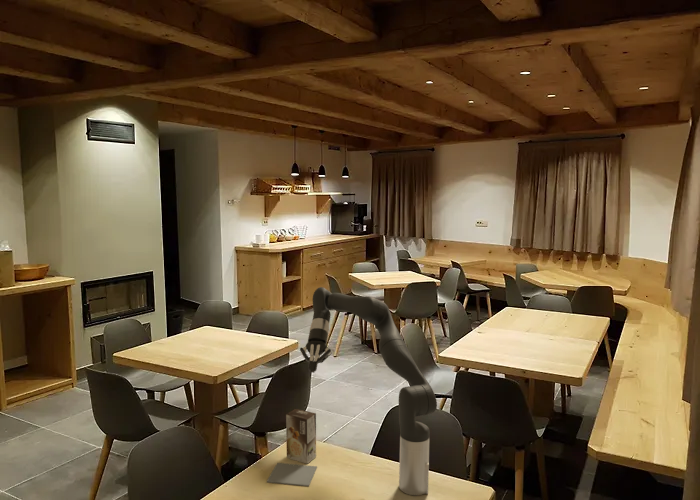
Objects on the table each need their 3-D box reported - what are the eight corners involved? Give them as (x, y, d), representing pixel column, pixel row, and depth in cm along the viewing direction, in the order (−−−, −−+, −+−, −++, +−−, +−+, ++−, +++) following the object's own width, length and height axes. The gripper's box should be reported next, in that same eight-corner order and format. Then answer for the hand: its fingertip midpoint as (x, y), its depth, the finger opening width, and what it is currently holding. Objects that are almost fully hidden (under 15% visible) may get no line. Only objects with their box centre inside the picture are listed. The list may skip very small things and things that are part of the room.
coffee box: (317, 456, 186) (317, 413, 184) (307, 464, 180) (307, 419, 179) (295, 450, 190) (295, 407, 189) (285, 458, 185) (285, 414, 183)
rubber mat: (317, 467, 178) (316, 466, 178) (308, 486, 167) (308, 485, 167) (277, 463, 180) (277, 462, 180) (266, 482, 169) (266, 481, 169)
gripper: (336, 337, 212) (330, 377, 201) (304, 336, 214) (296, 375, 203) (334, 328, 206) (327, 368, 195) (301, 326, 208) (293, 366, 197)
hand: (312, 371), depth 199 cm, fingers closed
